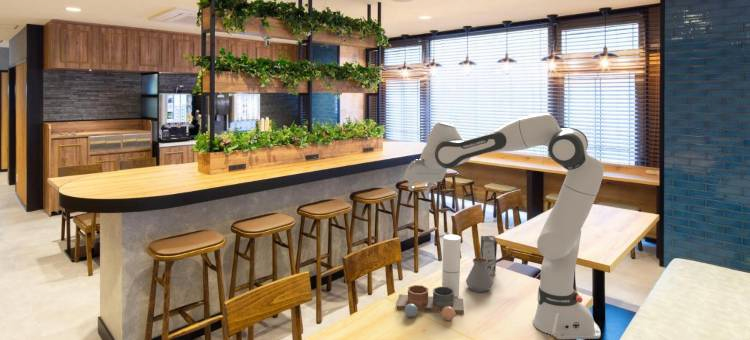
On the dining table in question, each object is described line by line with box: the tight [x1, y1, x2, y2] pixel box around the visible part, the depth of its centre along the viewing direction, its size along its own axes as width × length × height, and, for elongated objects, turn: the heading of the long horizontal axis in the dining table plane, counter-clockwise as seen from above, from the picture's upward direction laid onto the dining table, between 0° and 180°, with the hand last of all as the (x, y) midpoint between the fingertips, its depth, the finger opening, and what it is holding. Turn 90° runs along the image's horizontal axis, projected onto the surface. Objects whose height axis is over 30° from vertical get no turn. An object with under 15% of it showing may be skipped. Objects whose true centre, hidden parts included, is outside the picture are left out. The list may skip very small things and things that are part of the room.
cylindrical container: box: [441, 233, 462, 298], centre depth 188 cm, size 7×7×25 cm
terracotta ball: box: [441, 306, 456, 321], centre depth 168 cm, size 5×5×5 cm
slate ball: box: [404, 304, 419, 318], centre depth 170 cm, size 5×5×5 cm
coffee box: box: [479, 235, 498, 276], centre depth 213 cm, size 9×6×16 cm
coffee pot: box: [465, 252, 515, 293], centre depth 195 cm, size 21×12×15 cm, turn 101°
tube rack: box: [396, 284, 465, 315], centre depth 179 cm, size 26×10×6 cm, turn 81°
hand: (418, 189), depth 183 cm, fingers open, 8 cm apart
